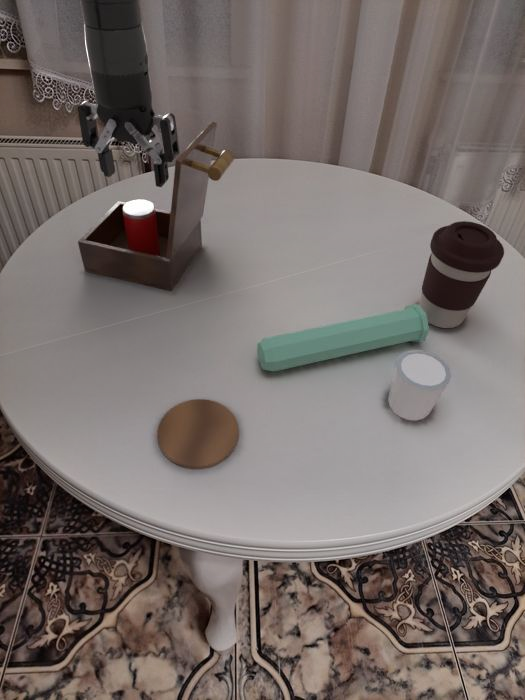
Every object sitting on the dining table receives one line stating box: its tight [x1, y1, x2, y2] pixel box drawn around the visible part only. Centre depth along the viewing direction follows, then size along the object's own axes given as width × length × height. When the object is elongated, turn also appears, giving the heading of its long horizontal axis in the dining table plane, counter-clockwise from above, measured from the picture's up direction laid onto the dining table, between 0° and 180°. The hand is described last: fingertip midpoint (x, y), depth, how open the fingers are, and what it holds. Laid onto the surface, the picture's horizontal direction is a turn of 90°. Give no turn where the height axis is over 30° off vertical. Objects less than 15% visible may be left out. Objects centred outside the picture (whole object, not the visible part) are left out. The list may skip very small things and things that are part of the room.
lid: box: [166, 121, 236, 260], centre depth 76 cm, size 16×14×5 cm
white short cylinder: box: [387, 349, 452, 422], centre depth 66 cm, size 7×7×7 cm
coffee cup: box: [418, 220, 505, 329], centre depth 76 cm, size 10×10×15 cm
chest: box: [77, 200, 203, 292], centre depth 86 cm, size 16×14×6 cm
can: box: [123, 199, 160, 257], centre depth 84 cm, size 5×5×9 cm
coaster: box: [156, 398, 240, 470], centre depth 63 cm, size 10×10×1 cm
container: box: [256, 303, 430, 372], centre depth 73 cm, size 6×6×25 cm
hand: (135, 179), depth 78 cm, fingers open, 8 cm apart
